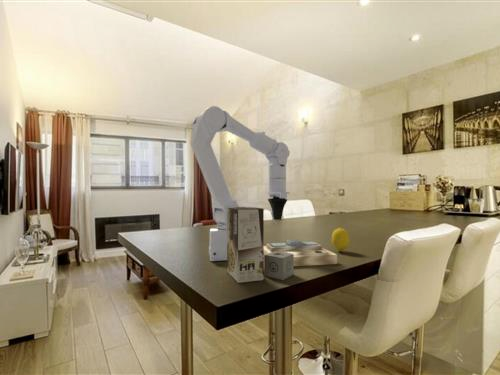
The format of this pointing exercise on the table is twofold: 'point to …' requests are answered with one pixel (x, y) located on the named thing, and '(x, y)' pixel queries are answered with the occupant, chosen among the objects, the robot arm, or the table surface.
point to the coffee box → (245, 243)
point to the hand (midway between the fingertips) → (277, 219)
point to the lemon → (340, 239)
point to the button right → (309, 243)
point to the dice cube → (279, 265)
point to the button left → (278, 245)
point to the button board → (305, 254)
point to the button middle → (293, 243)
